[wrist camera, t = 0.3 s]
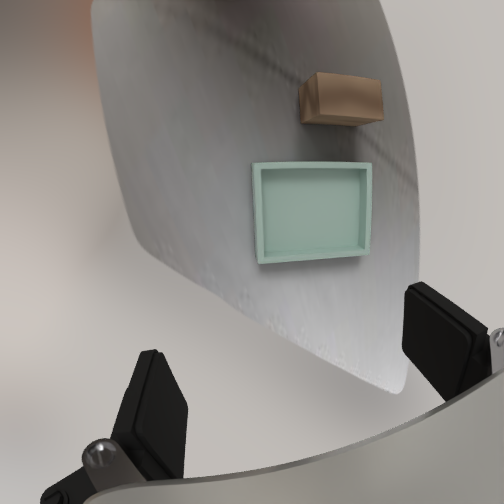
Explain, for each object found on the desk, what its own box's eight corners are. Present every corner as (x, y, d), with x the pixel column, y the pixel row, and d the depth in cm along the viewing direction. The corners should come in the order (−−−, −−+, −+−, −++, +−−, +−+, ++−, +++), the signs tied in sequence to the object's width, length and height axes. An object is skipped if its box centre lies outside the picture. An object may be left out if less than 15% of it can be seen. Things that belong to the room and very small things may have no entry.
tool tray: (251, 163, 37) (253, 162, 34) (362, 162, 38) (371, 162, 35) (255, 256, 41) (258, 264, 38) (360, 248, 42) (369, 254, 39)
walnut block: (298, 88, 35) (316, 71, 27) (352, 93, 35) (380, 80, 28) (300, 123, 36) (320, 114, 28) (355, 126, 37) (383, 119, 29)
